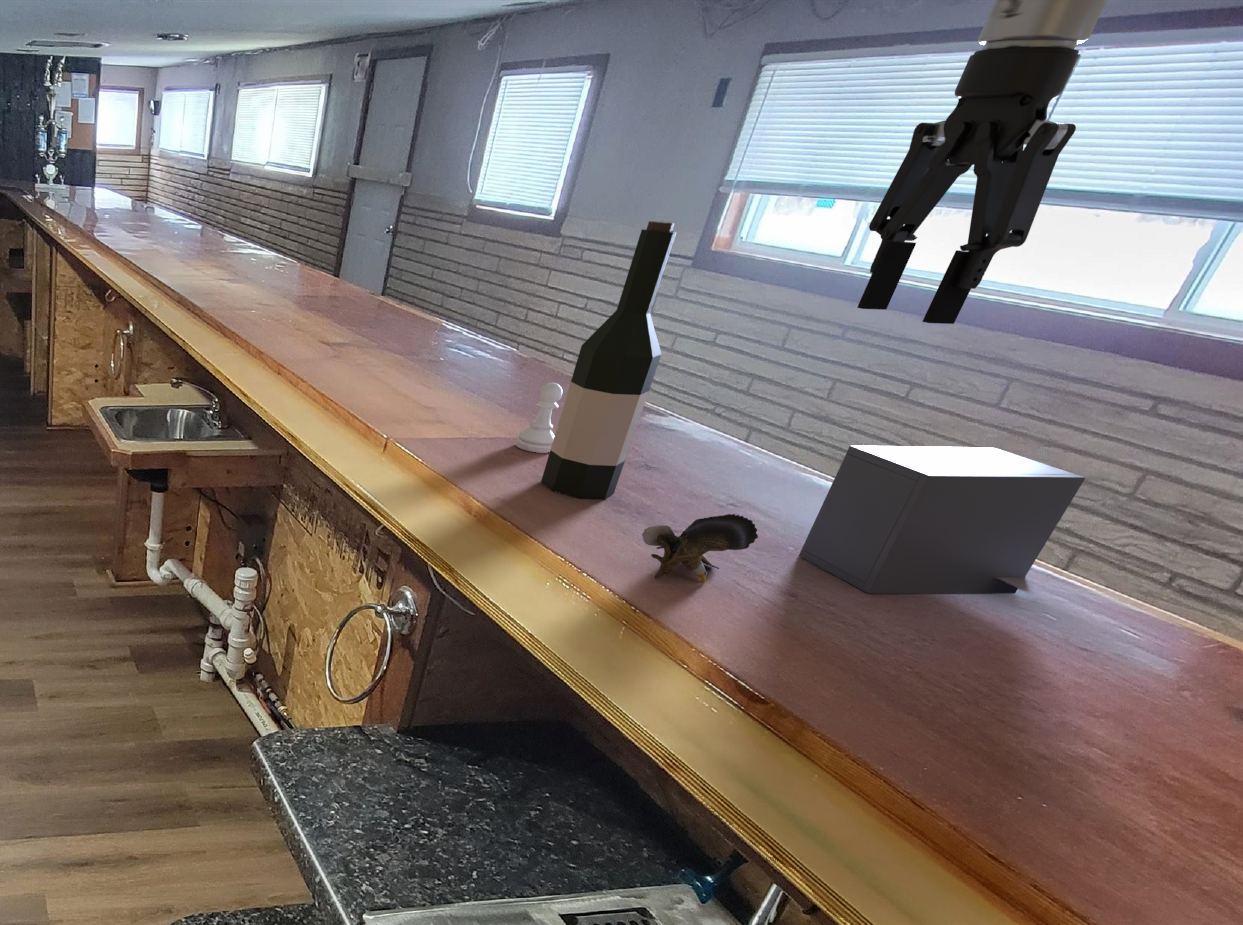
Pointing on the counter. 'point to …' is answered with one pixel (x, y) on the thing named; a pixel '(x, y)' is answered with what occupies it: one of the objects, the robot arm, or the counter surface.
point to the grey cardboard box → (937, 518)
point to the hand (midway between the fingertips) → (903, 315)
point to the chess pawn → (541, 422)
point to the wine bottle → (611, 381)
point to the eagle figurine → (699, 542)
